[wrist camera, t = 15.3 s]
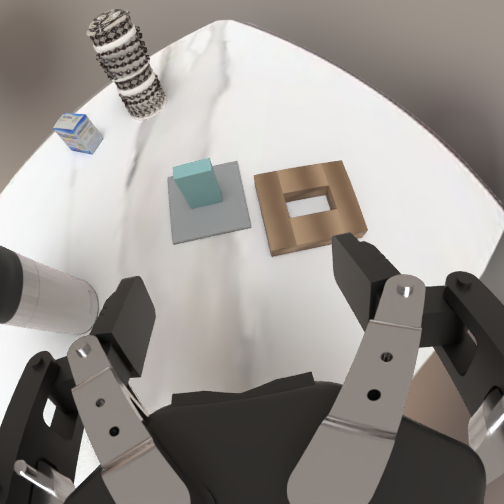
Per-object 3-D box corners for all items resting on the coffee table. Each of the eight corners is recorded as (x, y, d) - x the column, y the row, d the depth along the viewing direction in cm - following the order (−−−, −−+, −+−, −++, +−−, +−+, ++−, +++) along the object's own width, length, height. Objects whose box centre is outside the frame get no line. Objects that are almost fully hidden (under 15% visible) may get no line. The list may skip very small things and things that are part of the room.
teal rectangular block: (191, 209, 44) (173, 179, 35) (190, 198, 45) (172, 167, 36) (222, 201, 44) (211, 170, 35) (220, 190, 44) (209, 158, 36)
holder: (271, 256, 41) (271, 250, 39) (255, 185, 45) (253, 175, 42) (361, 237, 41) (367, 230, 38) (338, 170, 45) (341, 160, 42)
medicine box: (71, 150, 52) (51, 128, 44) (82, 135, 53) (63, 112, 45) (93, 154, 51) (72, 130, 42) (104, 138, 52) (85, 113, 43)
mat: (174, 244, 43) (172, 243, 43) (168, 179, 47) (167, 177, 46) (251, 227, 43) (250, 226, 42) (237, 162, 47) (237, 160, 46)
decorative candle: (177, 98, 53) (141, 2, 29) (145, 127, 51) (94, 31, 27) (151, 88, 55) (113, 3, 31) (122, 114, 53) (72, 30, 29)
